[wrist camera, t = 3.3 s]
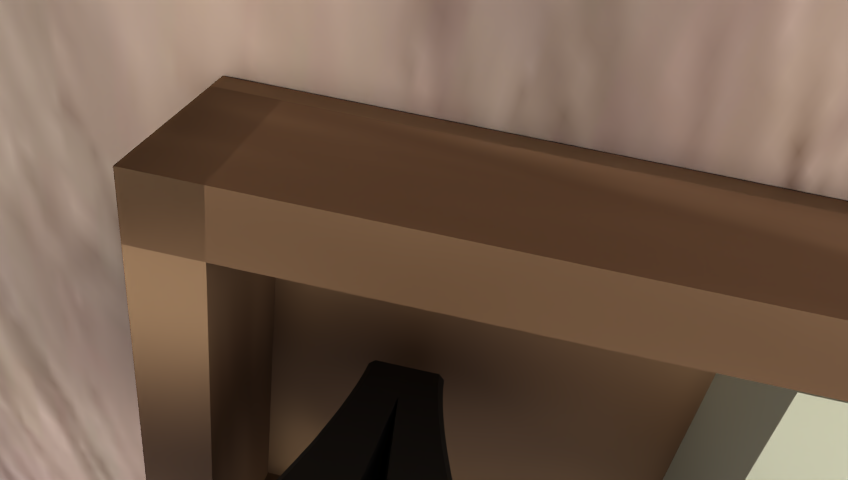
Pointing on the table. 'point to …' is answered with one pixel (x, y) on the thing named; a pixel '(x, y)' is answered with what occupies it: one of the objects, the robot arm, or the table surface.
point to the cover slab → (763, 435)
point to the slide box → (454, 287)
